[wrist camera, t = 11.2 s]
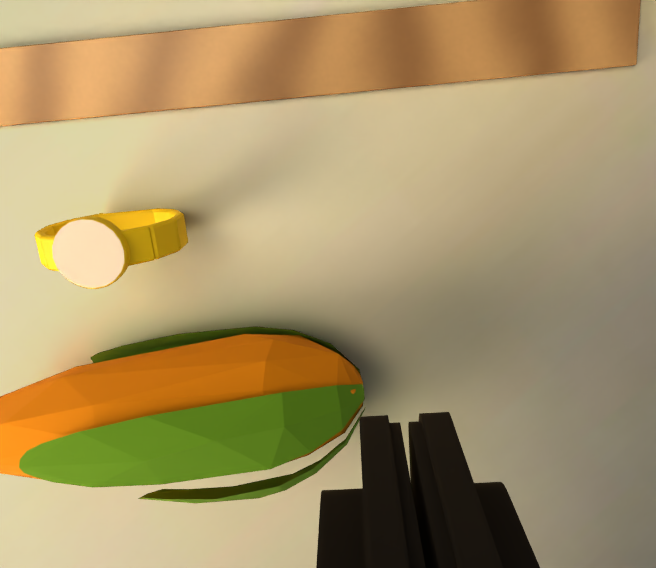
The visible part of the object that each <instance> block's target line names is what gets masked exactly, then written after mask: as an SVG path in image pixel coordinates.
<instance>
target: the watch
mask: <svg viewBox="0 0 656 568" xmlns="http://www.w3.org/2000/svg"><path fill="white" fill-rule="evenodd" d="M35 239H36V243H37V247H38V251H39V255H40V259H41V263H42V264H43V265H44V266H45V267H46V268H48V269H49V270H53V271H60V272H61V274H62V275H63V276H64V277H65V278H66V279H68V280H69V281H70V282H72V283H73V284H75V285H78V286H81V287H83V288H91V289H98V288H103V287H106V286H109V285H110V284H112V283H114V282H115V281H117V280H118V279H119V278H120V277H121V276H122V275H123V273H124V272H125V271H126V269H127V267H128V266H130V265H134V264H139V263H143V262H148V261H152V260H154V259H159V258H162V257H164V256H167V255H170V254H172V253H175V252H178V251H180V250H181V249H182V248H183V247H184V246H185V245H186V244H187V243H188V237H187V231H186V225H185V219H184V214H183V213H181V212H179V211H177V210H174V209H160V208H157V209H148V210H138V211H127V212H117V213H107V214H103V213H99V214H95V215H90V216H85V217H80V218H74V219H71V220H66V221H62V222H59V223H55V224H52V225H48V226H46V227H44V228H42V229H41V230H39V231H37V232H36V234H35Z"/></svg>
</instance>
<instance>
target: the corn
mask: <svg viewBox="0 0 656 568" xmlns="http://www.w3.org/2000/svg"><path fill="white" fill-rule="evenodd" d="M91 360H92V361H93V363H92V364H87V365H82V366H77V367H74V368H72V369H69V370H67V371H64V372H62V373H59V374H56V375H54V376H51V377H49V378H46V379H44V380H41V381H39V382H36V383H34V384H31V385H29V386H26V387H24V388H21V389H19V390H16V391H14V392H11V393H9V394H6V395H4V396H1V397H0V473H2V474H9V475H16V476H23V477H30V478H37V479H43V480H47V481H51V482H56V483H64V484H72V485H79V486H87V487H111V486H133V485H156V484H167V483H174V482H181V481H188V480H195V479H203V478H210V477H217V476H224V475H231V474H239V473H246V472H253V471H260V470H267V469H272V468H274V467H277V466H279V465H281V464H284V463H286V462H289V461H292V460H295V459H298V458H301V457H304V456H307V455H309V454H311V453H312V452H314V451H316V450H317V449H319V448H321V447H322V446H324V445H325V444H327V443H329V442H330V441H332V440H334V439H335V438H337V437H338V436H340V435H342V434H343V433H345V431H346V430H347V428H348V427H349V425H350V424H351V422H352V421H353V419H354V418H355V416H356V415H357V413H358V412H359V410H360V409H361V407H362V406H363V401H364V399H365V398H364V387H363V381H362V378H361V374H360V371H359V369H358V368H357V367H356V366H355V365H354V364H353V363H352V362H351V361H350V360H348V359H347V358H346V357H345V356H344V355H343V354H342V353H341V352H340V351H338V350H337V349H336V348H335V347H334V346H333V345H332V344H331V343H328V342H325V341H322V340H320V339H317V338H314V337H311V336H308V335H306V334H303V333H300V332H297V331H295V330H287V329H276V328H265V327H246V328H236V329H225V330H215V331H205V332H195V333H184V334H176V335H172V336H167V337H162V338H157V339H153V340H148V341H143V342H138V343H133V344H129V345H124V346H121V347H117V348H114V349H111V350H107V351H104V352H101V353H98V354H96V355H94V356H92V357H91ZM364 410H365V409H364ZM364 410H363V412H364ZM363 412H362V413H361V415H360V417H361V416H362V414H363ZM358 422H359V418H358V420H357V421H356V423H355V425H354V426H353V428H352V430H351V431H350V433H349V434H348V436H347V438H346V439H345V440H344V441H342V442H341V443H340V444H339V445H338V446H336V447H335V448H334V449H333V450H332V451H331V452H329V453H328V454H327V455H326V456H325V457H323V458H322V459H321V460H320V461H318V462H316V463H314V464H312V465H310V466H308V467H306V468H304V469H302V470H300V471H298V472H296V473H294V474H290V475H285V476H280V477H276V478H271V479H266V480H261V481H257V482H252V483H247V484H242V485H238V486H233V487H218V488H202V489H162V490H158V491H155V492H152V493H148V494H146V495H144V496H142V497H141V498H138V499H149V500H162V501H175V502H187V503H205V502H218V501H230V500H242V499H254V498H261V497H264V496H268V495H271V494H274V493H278V492H281V491H284V490H287V489H288V488H290V487H292V486H294V485H296V484H297V483H299V482H301V481H303V480H305V479H306V478H308V477H310V476H312V475H314V474H315V473H317V472H318V471H319V470H320V469H321V468H322V467H323V466H324V465H325V464H326V463H327V462H328V461H330V460H331V459H332V458H333V457H334V456H335V455H336V454H337V453H338V452H339V451H340V450H341V449H342V448H343V447H345V446H346V445H347V443H348V441H349V439H350V437H351V435H352V433H353V431H354V430H355V428H356V426H357V424H358Z"/></svg>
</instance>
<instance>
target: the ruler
mask: <svg viewBox="0 0 656 568" xmlns="http://www.w3.org/2000/svg"><path fill="white" fill-rule="evenodd" d="M639 16H640V0H476V1H466V2H456V3H446V4H436V5H426V6H416V7H407V8H397V9H387V10H377V11H367V12H357V13H347V14H337V15H327V16H317V17H307V18H297V19H287V20H277V21H267V22H257V23H247V24H237V25H227V26H217V27H207V28H198V29H188V30H178V31H168V32H158V33H148V34H138V35H128V36H118V37H108V38H98V39H88V40H78V41H68V42H58V43H48V44H38V45H28V46H18V47H8V48H0V126H8V125H18V124H29V123H39V122H50V121H60V120H70V119H81V118H91V117H101V116H112V115H122V114H133V113H143V112H153V111H164V110H174V109H185V108H195V107H205V106H216V105H226V104H237V103H247V102H257V101H268V100H278V99H289V98H299V97H309V96H320V95H330V94H341V93H351V92H361V91H372V90H382V89H392V88H403V87H413V86H424V85H434V84H444V83H455V82H465V81H476V80H486V79H496V78H507V77H517V76H528V75H538V74H548V73H559V72H569V71H580V70H590V69H600V68H611V67H621V66H632V65H636V62H637V46H638V31H639Z"/></svg>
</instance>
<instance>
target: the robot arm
mask: <svg viewBox="0 0 656 568" xmlns="http://www.w3.org/2000/svg"><path fill="white" fill-rule="evenodd" d="M359 420H360V440H361V461H362V482H363V489H344V490H323V491H322V492H321V503H320V519H319V535H318V552H317V568H540V567H539V564H538V562H537V560H536V557H535V555H534V553H533V550H532V548H531V546H530V543H529V541H528V539H527V536H526V534H525V532H524V529H523V527H522V525H521V522H520V520H519V518H518V515H517V513H516V510H515V508H514V506H513V503H512V501H511V499H510V496H509V494H508V492H507V489H506V488H505V486H504V484H503V483H501V482H490V483H474V482H473V479H472V476H471V473H470V470H469V468H468V465H467V462H466V459H465V456H464V453H463V450H462V447H461V445H460V442H459V439H458V436H457V433H456V430H455V427H454V424H453V421H452V419H451V416H450V413H449V412H441V413H422V414H419V422H409V451H410V476H411V482H410V476H409V471H408V465H407V459H406V454H405V448H404V442H403V437H402V431H401V426H400V423H389V419H388V415H385V416H367V417H359Z"/></svg>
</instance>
